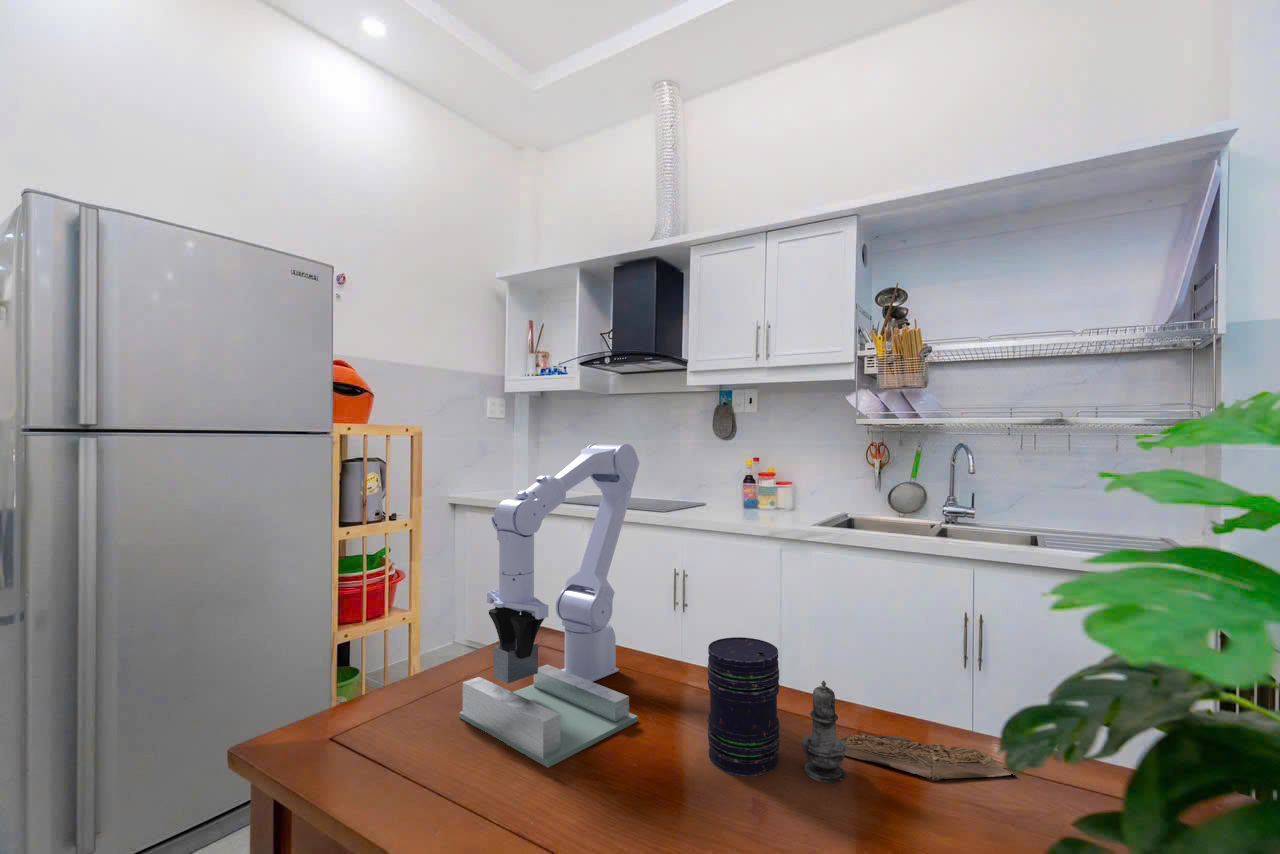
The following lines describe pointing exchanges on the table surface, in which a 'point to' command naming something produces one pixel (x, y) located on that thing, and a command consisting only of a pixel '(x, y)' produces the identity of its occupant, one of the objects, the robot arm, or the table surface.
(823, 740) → the salt shaker
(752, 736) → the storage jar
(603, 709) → the bar
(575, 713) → the vise base
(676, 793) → the table surface
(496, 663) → the steel block
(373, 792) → the table surface
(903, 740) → the wooden fragment
